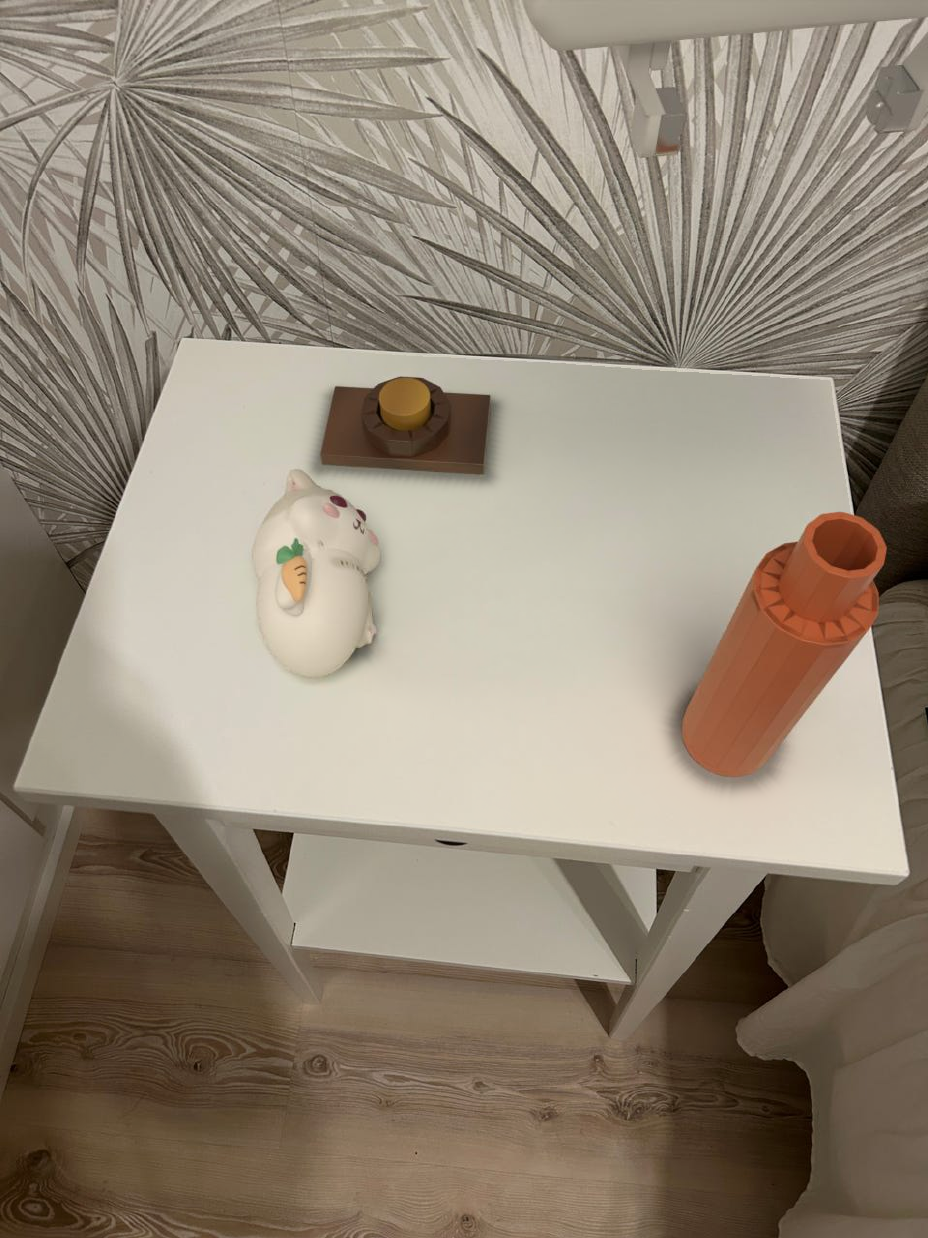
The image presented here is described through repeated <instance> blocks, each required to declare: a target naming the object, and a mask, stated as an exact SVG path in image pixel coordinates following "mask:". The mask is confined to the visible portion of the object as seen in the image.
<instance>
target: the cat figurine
mask: <svg viewBox="0 0 928 1238" xmlns="http://www.w3.org/2000/svg"><path fill="white" fill-rule="evenodd" d="M366 522H367V514H366V512H364V510H361V509H359V508H356V507H355V506H354V505H353V504H352V503H351V502H350V501H349V500H348V499H347V498H345V497H344V496H343V495H341V494H339V493H337V492H335V491H334V490H332V489H327V488H323V487H321V486H319V484H317V483H316V482H315V481H314V480H313V479H312V478H311V476H310V475H309V474H308V473H306V472H305V471H304V470H302V469H299V468H294V469H291V470H290V471H289V472H288V474H287V477H286V484H285V492H284V495H283V496H281V497H280V498H279V499H278V500H277V501H276V502H275V503H274V504H273V505H272V506H271V508H270V509H268V512H267V514H265V517H264V518H263V520H262V522H261V524H260V526H259V528H258V530H257V533H256V534H255V538H254V540H253V544H252V550H251V560H252V565H253V566H252V567H253V570H254V572H255V575H256V578H257V581H258V582H259V583H258V588H257V594H256V595H257V597H256V613H257V621H258V625H259V629H260V632H261V636H262V639H263V640H264V642H265V644H266V646H267V648H268V650H269V651H270V652H271V654H272V655H273V657H274V658H275V659H276V661H278V662H279V663H280V664H281V665H282V666H283V667H285V669H287V670H289V671H290V672H292V673H294V674H297V675H299V676H302V677H305V678H320V677H321V678H322V677H326V676H328V675H330V674H332V673H334V672H336V671H337V670H338V669H340V668H341V667H342V666H343V665H344V664H346V662H348V660H349V659H350V657H351V656H352V655H353V653H354V652H355V650H356V649H357V648H358V649H361V648H362V647H364V646H365V645H369V644H372V643H373V640H374V636H375V635H377V632H378V628H377V627H376V625H375V624H374V619H373V606H372V599H371V598H372V597H371V595H370V590H369V588H368V583H367V578H369V577H368V576H366V575H367V574H368V573H370V572H372V571H373V570H374V569H376V568H377V567H378V565H379V563H380V561H381V556H382V555H381V549H380V547H379V539H378V537H377V535H376V534H375V533H374V532H373V531H372V530H370V529H369V528H368V526H367V524H366Z"/></svg>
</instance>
